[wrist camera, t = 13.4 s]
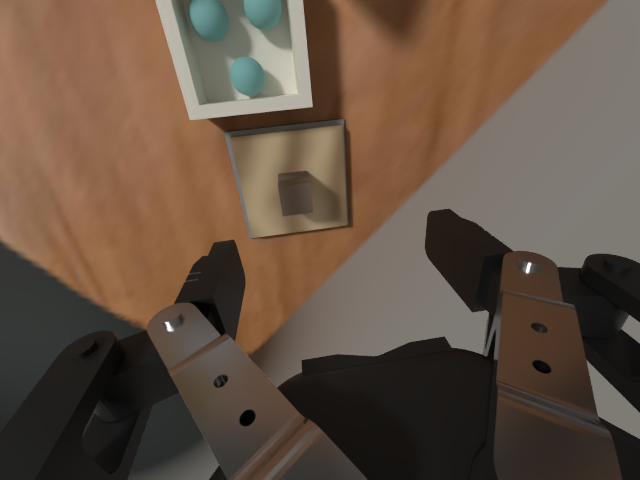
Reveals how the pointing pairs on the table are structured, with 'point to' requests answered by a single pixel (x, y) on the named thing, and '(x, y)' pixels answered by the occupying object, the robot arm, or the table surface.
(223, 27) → the ball
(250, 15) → the ball
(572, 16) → the table surface
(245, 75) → the ball
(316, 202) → the lid
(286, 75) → the box
